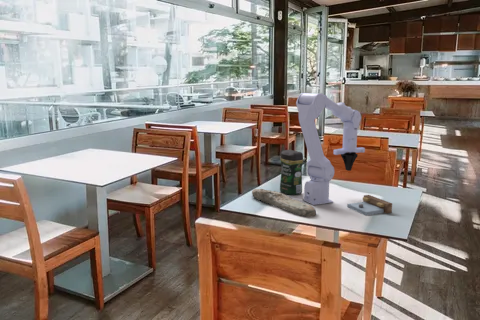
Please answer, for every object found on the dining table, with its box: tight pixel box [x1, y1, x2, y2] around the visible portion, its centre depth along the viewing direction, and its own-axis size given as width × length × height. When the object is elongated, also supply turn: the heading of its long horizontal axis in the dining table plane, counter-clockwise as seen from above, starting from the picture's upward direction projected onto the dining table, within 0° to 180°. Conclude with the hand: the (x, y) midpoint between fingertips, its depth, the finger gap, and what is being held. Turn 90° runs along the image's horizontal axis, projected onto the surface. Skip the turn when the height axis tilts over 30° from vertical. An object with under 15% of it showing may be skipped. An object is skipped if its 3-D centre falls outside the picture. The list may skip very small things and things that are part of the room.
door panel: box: [346, 201, 385, 216], centre depth 164 cm, size 8×11×3 cm
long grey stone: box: [251, 188, 317, 218], centre depth 170 cm, size 35×5×10 cm
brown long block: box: [362, 194, 393, 214], centre depth 165 cm, size 4×13×4 cm, turn 23°
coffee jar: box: [279, 149, 304, 196], centre depth 186 cm, size 10×8×19 cm
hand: (348, 170), depth 183 cm, fingers closed
